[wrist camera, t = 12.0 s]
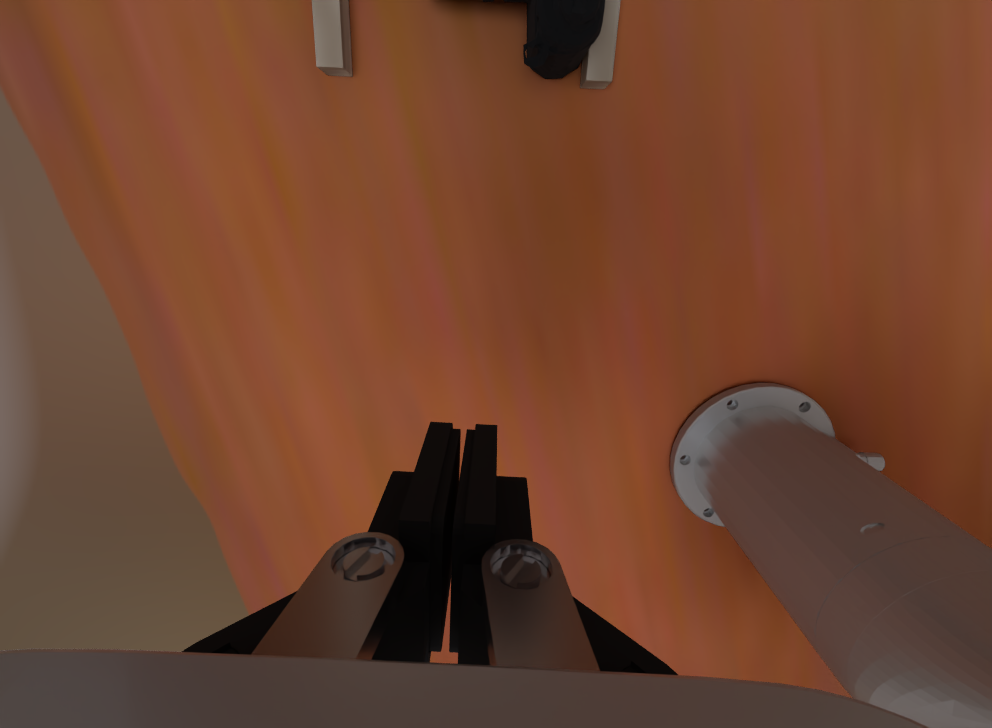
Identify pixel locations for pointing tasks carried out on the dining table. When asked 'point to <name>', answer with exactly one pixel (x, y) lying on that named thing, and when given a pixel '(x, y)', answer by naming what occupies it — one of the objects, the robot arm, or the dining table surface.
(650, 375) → the dining table surface
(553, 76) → the film camera
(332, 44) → the camera rest
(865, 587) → the robot arm
